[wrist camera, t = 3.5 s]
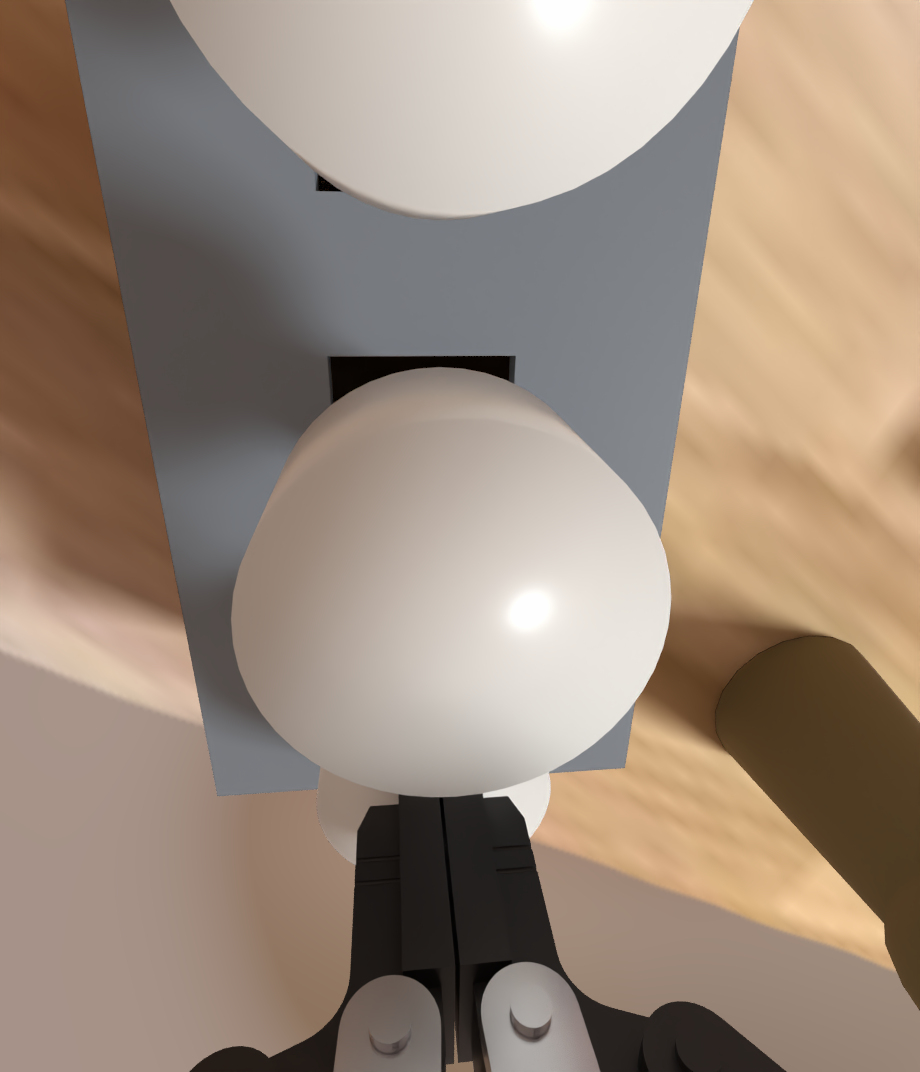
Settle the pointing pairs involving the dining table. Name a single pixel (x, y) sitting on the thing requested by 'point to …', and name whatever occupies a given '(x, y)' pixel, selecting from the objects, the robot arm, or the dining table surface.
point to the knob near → (462, 88)
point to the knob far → (350, 802)
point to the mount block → (361, 316)
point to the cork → (838, 772)
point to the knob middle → (447, 589)
